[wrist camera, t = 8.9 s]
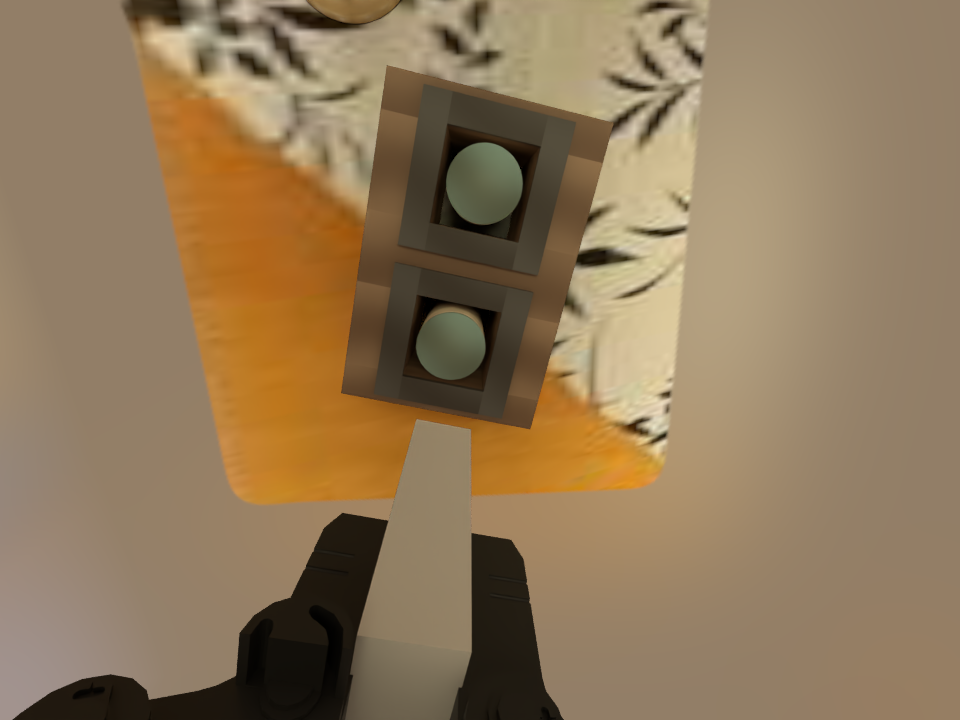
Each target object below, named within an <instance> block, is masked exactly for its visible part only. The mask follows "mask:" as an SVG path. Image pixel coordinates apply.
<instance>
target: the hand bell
mask: <svg viewBox="0 0 960 720" xmlns="http://www.w3.org/2000/svg"><path fill="white" fill-rule="evenodd" d="M307 1H308V2H309V3H310V4H311V5H312V6H313V7H314V8H315V9H316V10H318V11H319V12H321V13H322V14H324V15H325V16H327V17H329V18H331V19H334V20H337V21H340V22H344V23H352V24H360V23H367V22H371V21H373V20H376V19H379V18H380V17H382V16H384V15H385V14H387V13H388V12H390V11H391V10H392V9H393V8H394V7H395V6H396V5H397V4H398V3H399V1H400V0H307Z"/></svg>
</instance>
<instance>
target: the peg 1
mask: <svg viewBox="0 0 960 720" xmlns="http://www.w3.org/2000/svg"><path fill="white" fill-rule="evenodd" d="M522 185H523V181H522V174H521V170H520V167H519V165H518V163H517V161H516V160H515V158H514V157H513V156H512V155H511V154H510V153H509V152H508V151H507V150H506V149H504V148H503V147H501V146H499V145H496V144H493V143H476V144H473V145H470V146H468V147H466V148H465V149H463V150H462V151H461V152H459V153H458V155H457V156H456V157H455V158H454V160H453V161H452V163H451V165H450V167H449V170H448V173H447V179H446V188H447V194H448V197H449V200H450V202H451V204H452V206H453V207H454V209H455V210H456V212H457V213H458V214H459V215H460V217H461V218H463V219H464V220H465V221H467V222H469V223H471V224H474V225H487V224H492V223H496V222H498V221H501V220H502V219H504V218H506V217H507V216H508V215H509V214H510V213H511V212H512V211H513V210H514V209H515V207H516V206H517V204H518V202H519V199H520V197H521V193H522Z"/></svg>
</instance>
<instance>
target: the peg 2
mask: <svg viewBox="0 0 960 720" xmlns="http://www.w3.org/2000/svg"><path fill="white" fill-rule="evenodd" d="M416 350H417V355H418V358H419V360H420V362H421V364H422V365H423V366H424V368H425V369H426V370H427V371H428V372H430V373H431V374H432V375H434V376H436V377H439V378H442V379H447V380H456V379H461V378H464V377H466V376H468V375H470V374H471V373H473V372H474V371H475V370H476V369H477V368H478V367H479V365H480V364H481V362H482V360H483V358H484V354H485V338H484V331H483V324H482V317H481V312H480V309H479V308H478V307H473V306H468V305H463V304H459V303H454V302H449V301H445V300H440V299H437V300H436V301H435V302H434V303H433V305H432V307H431V309H430V311H429V313H428V315H427V317H426V319H425V321H424V323H423V326H422V328H421V330H420V332H419V334H418V337H417V342H416Z"/></svg>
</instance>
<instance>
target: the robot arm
mask: <svg viewBox="0 0 960 720" xmlns="http://www.w3.org/2000/svg"><path fill="white" fill-rule="evenodd" d="M526 583H527V579H526V572H525V566H524V560H523V558H522V556H521V555H520V553H519V552H518V550H517V548H516V547H515V545H514V544H513V542H512V541H511V540H509V539H503V538H497V537H491V536H485V535H478V534H474V533H471V429H466V428H461V427H456V426H450V425H445V424H440V423H434V422H429V421H424V420H419V419H416V423H415V426H414V430H413V434H412V437H411V441H410V445H409V448H408V452H407V455H406V459H405V463H404V466H403V470H402V474H401V477H400V481H399V484H398V488H397V492H396V495H395V499H394V503H393V506H392V510H391V514H390V517H389V521H387V520H381V519H375V518H369V517H363V516H357V515H351V514H345V513H342V514H341V515H339V516H338V517H337V518H336V519H334V520H333V521H332V522H331V523H330V524H328V525H327V526H326V527H325V528H324V529H323V532H322V533H321V536H320V538H319V540H318V542H317V544H316V546H315V548H314V552H312V554H311V556H310V558H309V560H308V563H307V565H306V569H305V570H304V571H303V573H302V575H301V577H300V579H299V581H298V583H297V585H296V588H295V590H294V592H293V594H292V596H291V598H288V599H285V600H281V601H278V602H275V603H272V604H271V605H269V606H268V607H266V608H265V609H263V610H262V611H260V612H259V613H257V614H256V615H254V616H253V617H252V619H251V620H250V621H249V622H248V623H247V625H246V626H245V627H244V628H243V630H242V631H241V632H240V636H239V648H238V660H237V673H236V676H235V677H234V678H231V679H229V680H227V681H225V682H223V683H221V684H219V685H217V686H213V687H210V688H206V689H203V690H199V691H195V692H189V693H184V694H178V695H173V696H168V697H162V698H157V699H151V700H149V698H148V694H147V690H146V689H144V688H143V687H142V686H141V685H140V684H138V683H137V682H136V681H135V680H134V679H132V678H127V677H122V676H116V675H111V674H110V675H104V676H98V677H92V678H86V679H81V680H79V681H77V682H74V683H72V684H69V685H67V686H65V687H62V688H60V689H58V690H55V691H53V692H51V693H49V694H48V695H46V696H45V697H44V698H42V699H41V700H39V701H38V702H36V703H35V704H33V705H32V706H30V707H29V708H27V709H26V710H24V711H23V712H21V713H20V714H19V715H18V716H17V717H15V718H14V719H13V720H564V719H563V718H562V717H561V715H560V712H559V709H558V707H557V706H556V704H555V703H554V702H553V700H552V699H551V697H550V696H549V695H548V693H547V692H546V690H545V686H544V682H543V679H542V673H541V667H540V661H539V654H538V648H537V642H536V635H535V629H534V623H533V616H532V610H531V604H530V603H529V599H530V597H529V591H528V586H527V585H526Z"/></svg>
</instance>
